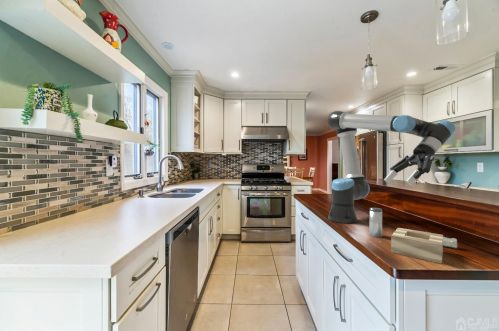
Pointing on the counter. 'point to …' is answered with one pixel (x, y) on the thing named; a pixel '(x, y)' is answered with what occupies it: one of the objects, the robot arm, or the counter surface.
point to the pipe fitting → (450, 242)
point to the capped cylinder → (375, 222)
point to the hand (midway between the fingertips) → (396, 182)
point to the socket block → (417, 244)
